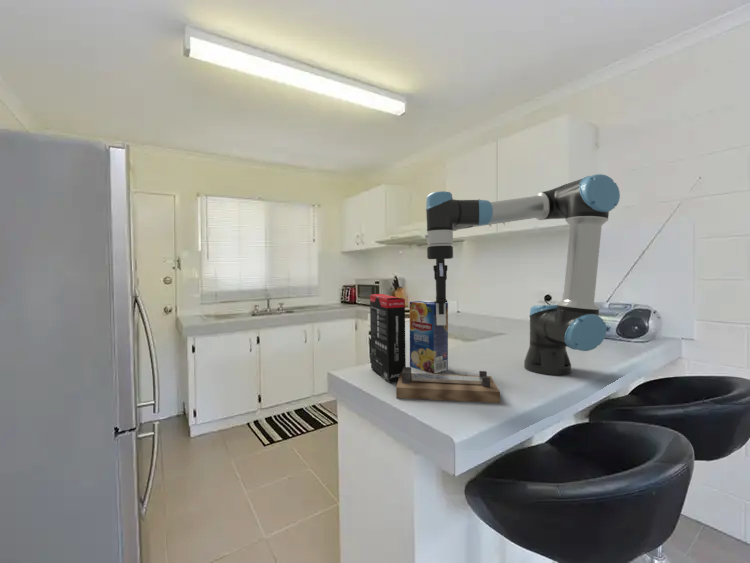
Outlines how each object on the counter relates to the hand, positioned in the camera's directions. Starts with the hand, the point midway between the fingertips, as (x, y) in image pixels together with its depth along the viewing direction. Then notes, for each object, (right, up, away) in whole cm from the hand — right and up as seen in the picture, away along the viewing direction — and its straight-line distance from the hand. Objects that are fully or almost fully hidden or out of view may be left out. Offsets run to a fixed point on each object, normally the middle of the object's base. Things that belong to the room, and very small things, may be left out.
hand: (441, 324), depth 106 cm
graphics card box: (-16, -19, +15) cm, 29 cm away
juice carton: (0, -19, +23) cm, 30 cm away
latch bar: (+2, -16, -2) cm, 16 cm away
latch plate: (+1, -20, -1) cm, 20 cm away
